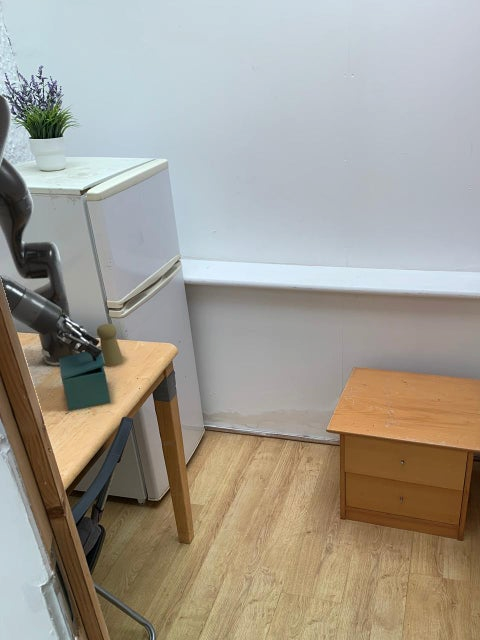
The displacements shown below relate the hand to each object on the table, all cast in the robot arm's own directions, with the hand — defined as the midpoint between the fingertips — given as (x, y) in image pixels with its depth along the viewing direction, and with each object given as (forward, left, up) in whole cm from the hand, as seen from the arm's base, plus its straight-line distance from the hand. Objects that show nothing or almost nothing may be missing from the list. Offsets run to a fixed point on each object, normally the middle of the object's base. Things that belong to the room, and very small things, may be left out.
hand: (98, 348), depth 150 cm
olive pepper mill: (-18, +3, -13) cm, 22 cm away
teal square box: (0, -5, -13) cm, 14 cm away
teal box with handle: (0, -4, -3) cm, 5 cm away
